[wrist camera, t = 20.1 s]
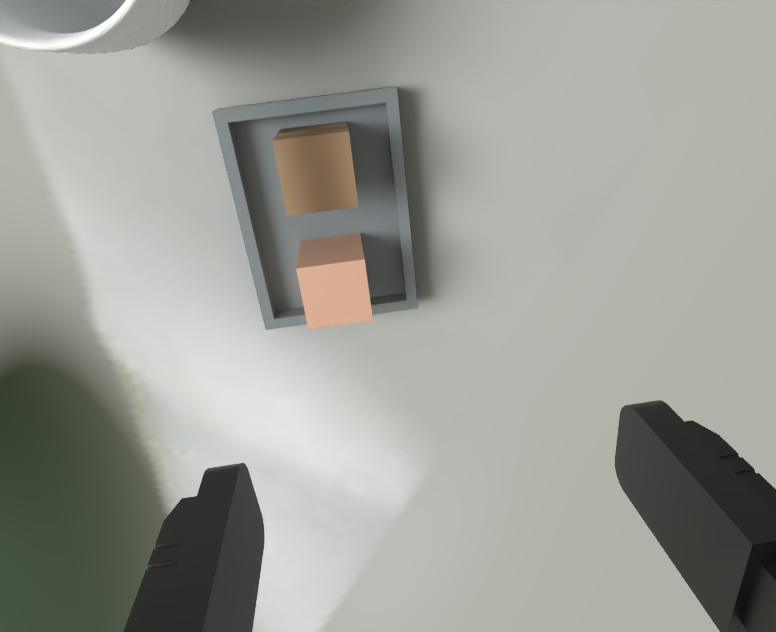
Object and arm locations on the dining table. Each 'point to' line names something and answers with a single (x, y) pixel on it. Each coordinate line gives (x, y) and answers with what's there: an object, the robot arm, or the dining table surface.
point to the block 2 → (333, 281)
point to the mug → (86, 24)
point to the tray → (284, 233)
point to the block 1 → (315, 168)
